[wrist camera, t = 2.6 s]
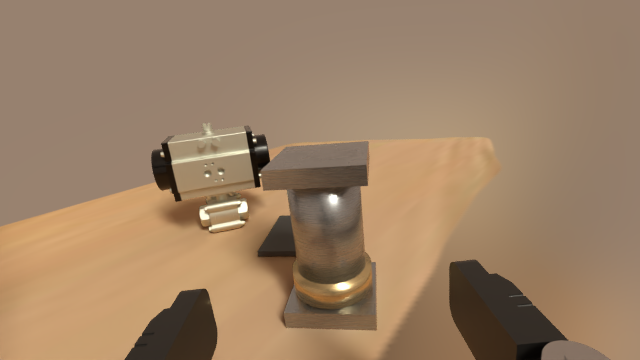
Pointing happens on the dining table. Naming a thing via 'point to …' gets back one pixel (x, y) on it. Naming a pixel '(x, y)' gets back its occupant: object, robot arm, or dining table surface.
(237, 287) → the dining table surface
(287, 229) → the pad
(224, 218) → the pneumatic valve
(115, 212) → the dining table surface
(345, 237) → the grey column pedestal
